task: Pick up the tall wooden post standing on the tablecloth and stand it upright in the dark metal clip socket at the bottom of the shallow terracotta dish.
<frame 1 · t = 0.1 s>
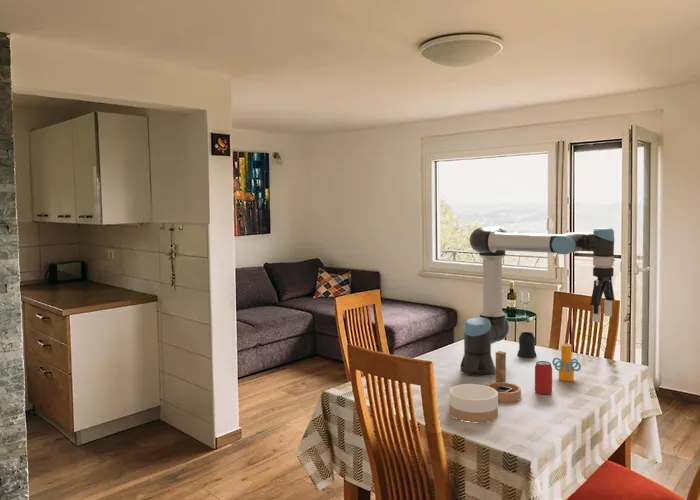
hand: (602, 318, 224), 28 cm above the table, fingers open, 13 cm apart
clip: (503, 391, 217), in the shallow terracotta dish, point 1 cm above the table
tall wooden post: (500, 385, 230), on the table
bowl: (473, 414, 201), on the table
shallow terracotta dish: (503, 396, 218), on the table
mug: (527, 355, 274), on the table
cylinder: (566, 379, 236), on the table
beer can: (543, 392, 221), on the table
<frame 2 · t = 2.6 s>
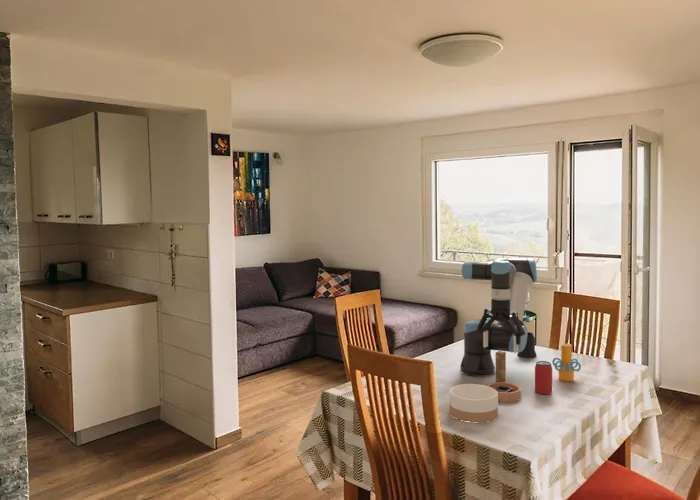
hand: (500, 349, 229), 15 cm above the table, fingers open, 13 cm apart
nothing on the table moved.
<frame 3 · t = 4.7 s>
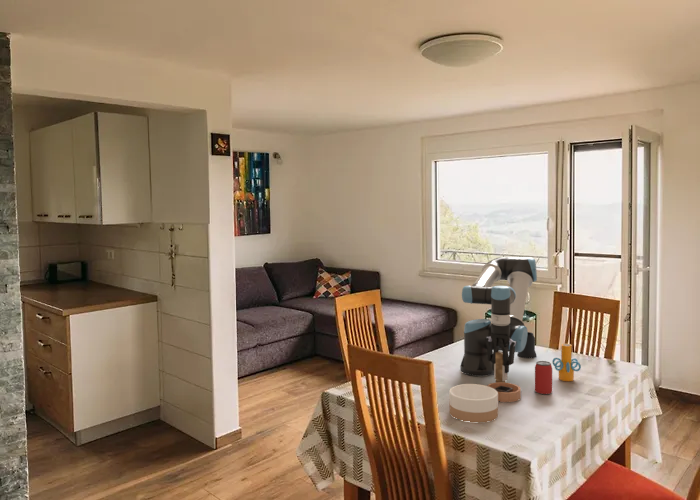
hand: (500, 379, 230), 3 cm above the table, fingers closed on tall wooden post, 3 cm apart
tall wooden post: (500, 385, 230), on the table, touching gripper
everything else where it was.
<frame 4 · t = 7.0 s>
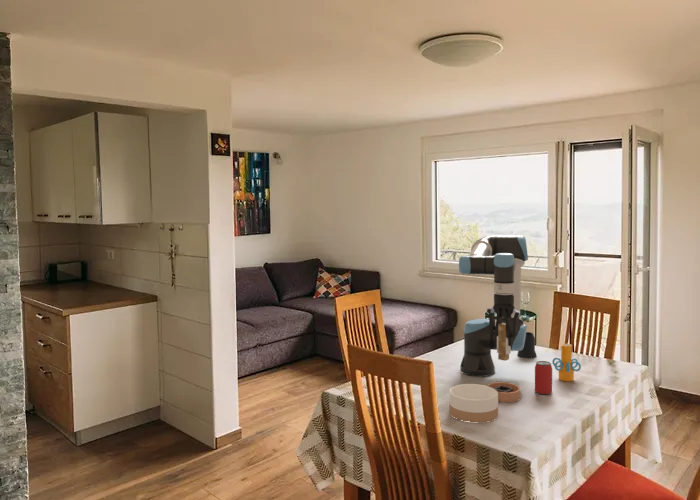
hand: (503, 352, 216), 17 cm above the table, fingers closed on tall wooden post, 3 cm apart
tall wooden post: (503, 359, 216), point 15 cm above the table, touching gripper
everything else where it was.
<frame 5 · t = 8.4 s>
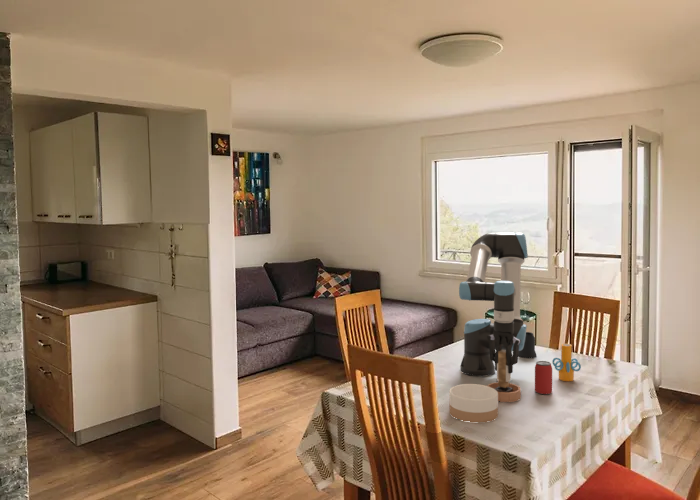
hand: (503, 379, 217), 7 cm above the table, fingers closed on tall wooden post, 3 cm apart
tall wooden post: (503, 386, 217), point 4 cm above the table, touching gripper
everything else where it was.
when the fingers open (4 cm above the table, at t = 9.3 s): tall wooden post drops 1 cm, resting on shallow terracotta dish.
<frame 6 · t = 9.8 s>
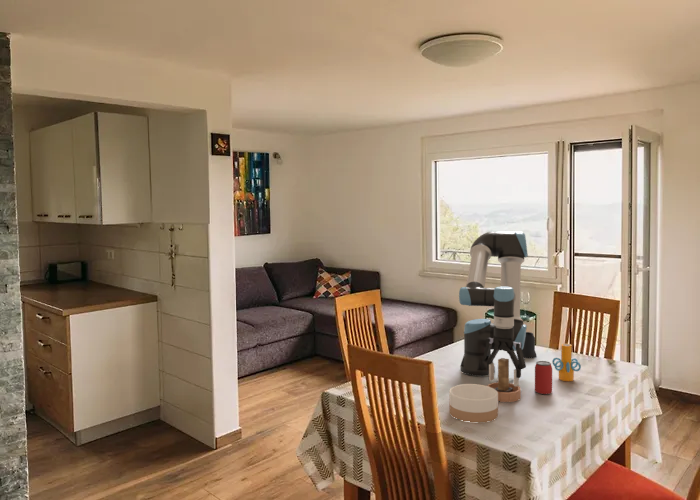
hand: (503, 382, 217), 5 cm above the table, fingers open, 10 cm apart
tall wooden post: (503, 394, 218), point 1 cm above the table, touching shallow terracotta dish
everything else where it was.
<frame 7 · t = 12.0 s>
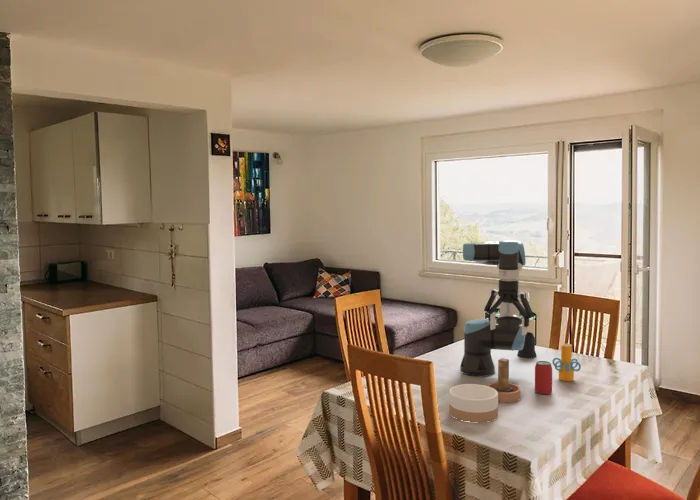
hand: (508, 331, 222), 24 cm above the table, fingers open, 13 cm apart
nothing on the table moved.
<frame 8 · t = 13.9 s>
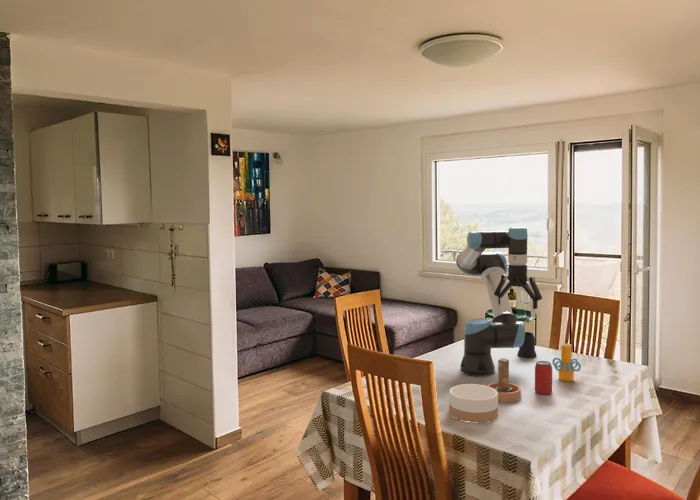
hand: (517, 314, 232), 29 cm above the table, fingers open, 13 cm apart
nothing on the table moved.
at the end: tall wooden post 0.1 cm off-centre on the shallow terracotta dish, point 0.6 cm above the shallow terracotta dish's base; tall wooden post tilted 0°; the gripper is holding nothing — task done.
